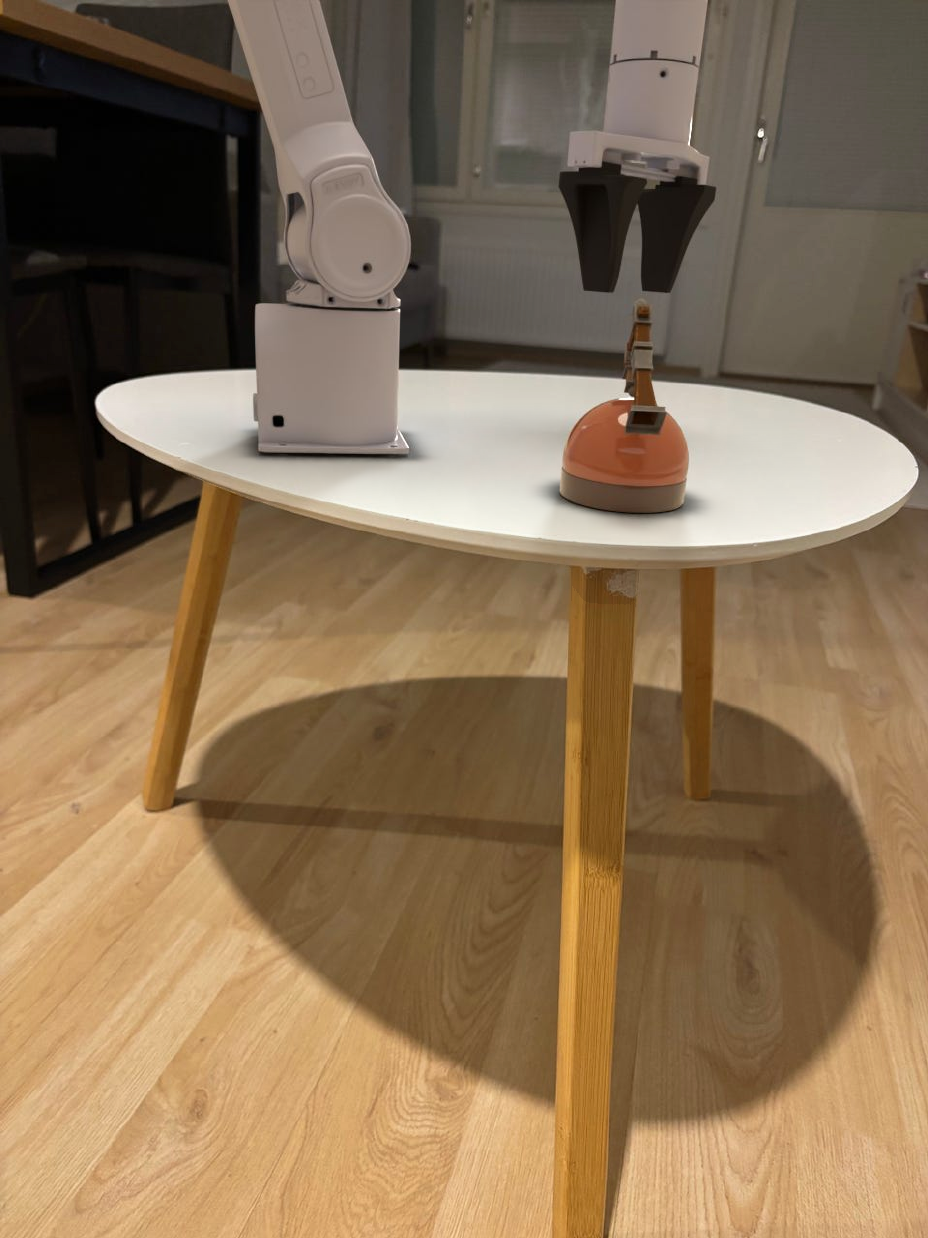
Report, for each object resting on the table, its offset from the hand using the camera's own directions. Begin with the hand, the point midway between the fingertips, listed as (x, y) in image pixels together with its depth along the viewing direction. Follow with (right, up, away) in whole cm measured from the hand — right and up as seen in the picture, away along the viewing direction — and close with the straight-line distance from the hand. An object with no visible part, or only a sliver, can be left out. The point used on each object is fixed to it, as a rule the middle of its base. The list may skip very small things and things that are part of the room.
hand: (628, 291), depth 64 cm
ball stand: (-3, -17, -11) cm, 21 cm away
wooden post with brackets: (-3, -12, -15) cm, 19 cm away
